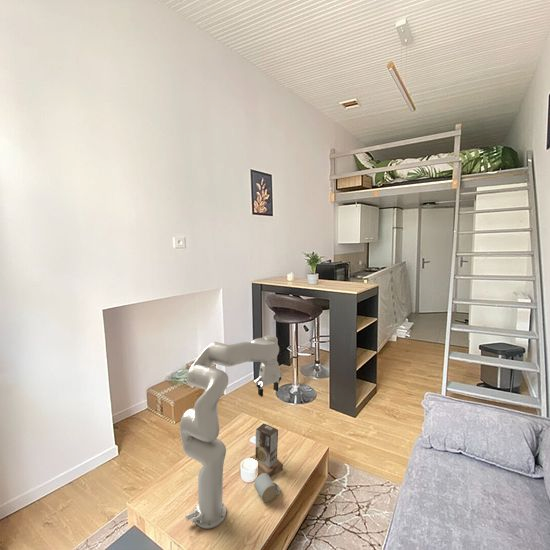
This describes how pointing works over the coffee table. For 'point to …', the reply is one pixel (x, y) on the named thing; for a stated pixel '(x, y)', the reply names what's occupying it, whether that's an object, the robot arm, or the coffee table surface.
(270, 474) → the walnut tray
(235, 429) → the coffee table surface
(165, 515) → the coffee table surface
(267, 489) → the ceramic mug
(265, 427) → the coffee box
